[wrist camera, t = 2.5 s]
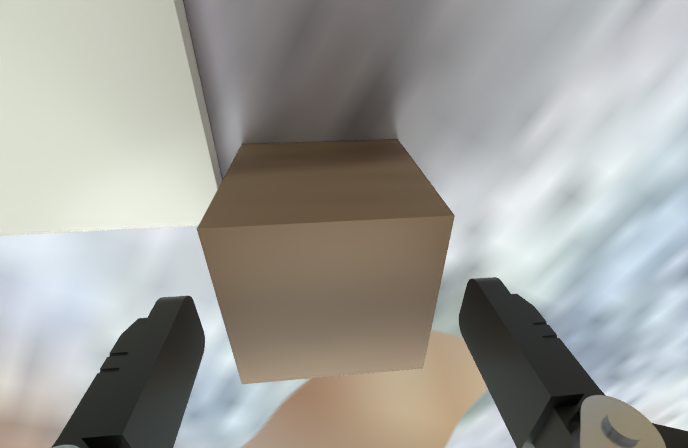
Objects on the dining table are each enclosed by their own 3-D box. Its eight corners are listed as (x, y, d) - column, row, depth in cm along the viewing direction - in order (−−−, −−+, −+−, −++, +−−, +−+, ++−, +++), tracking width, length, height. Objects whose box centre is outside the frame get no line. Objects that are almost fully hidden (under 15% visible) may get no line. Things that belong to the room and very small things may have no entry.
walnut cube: (242, 143, 12) (197, 228, 7) (397, 138, 13) (454, 215, 8) (263, 265, 16) (242, 384, 11) (387, 258, 16) (423, 368, 11)
